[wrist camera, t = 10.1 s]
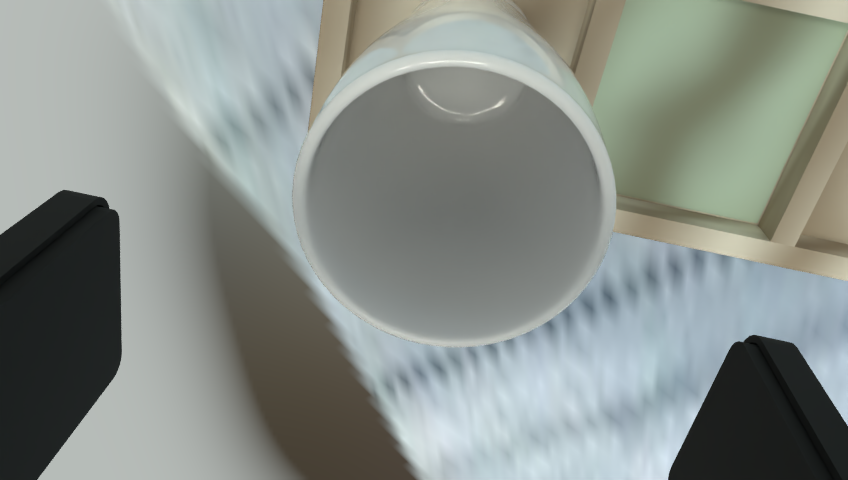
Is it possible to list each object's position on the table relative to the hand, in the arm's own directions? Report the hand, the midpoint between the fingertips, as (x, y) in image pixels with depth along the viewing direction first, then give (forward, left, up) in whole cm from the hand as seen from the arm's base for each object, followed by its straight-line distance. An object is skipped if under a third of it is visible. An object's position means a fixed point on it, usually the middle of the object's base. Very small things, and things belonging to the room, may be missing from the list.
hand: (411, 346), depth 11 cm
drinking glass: (0, 0, -19) cm, 19 cm away
